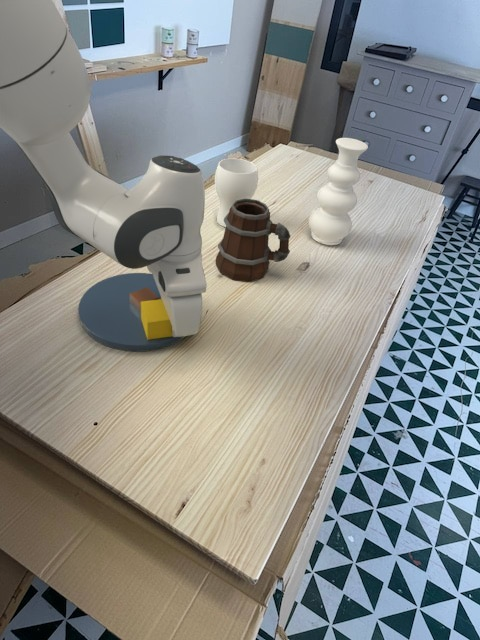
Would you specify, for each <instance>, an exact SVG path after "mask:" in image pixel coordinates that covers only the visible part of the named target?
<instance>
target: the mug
mask: <svg viewBox="0 0 480 640" xmlns="http://www.w3.org/2000/svg"><path fill="white" fill-rule="evenodd" d="M224 222H225V224H226V227H224V228H225V229H224V233H223V236H222V239H221V240H220V241H219V243H218V244H217V248H218V250H219V251H218V253H217V255H216V257H215V265H216V268H217V269H218V272H219V273H220V274H221V275H223V276H225V277H227V278H228V279H231V280H232V281H239V282H248V283H250V282H251V283H252V282H254V281H258V280H260V279H263V278H265V276H266V274H267V272H268V271H269V266H270V261H273V262H274V263H279V262H283V261H284V260H286V259H287V258H288V257H289V255H290V253H291V250H290V248H289V246H290V245H289V243H290V239H291V234H290V231H289V229H288V228H287V227H286V226H285V225H284V224H282V223H280V222H277V223H274V222H273V221H272V220H271V212H270V208H269V207H268V205H267V204H266V203H264V202H262V201H260V200H258V199H253V198H251V199H241V200H236V201H235V202H234V203H233V205H232V207H231V208H230V210H229V213H228V214H227V215H226V217H225V218H224ZM271 234H274V235H275V236H277V239H278V240H279V247H278V249H275V250H274V251H272V250H271V248H270V246H269V236H270V235H271Z"/></svg>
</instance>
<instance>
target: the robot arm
mask: <svg viewBox="0 0 480 640" xmlns="http://www.w3.org/2000/svg"><path fill="white" fill-rule="evenodd" d="M56 6H57V5H55V3H54V1H53V0H0V129H1V130H2V131H4V132H5V133H6V134H7V135H8V136H9V138H11V139H12V140H13V141H14V143H15V144H16V146H17V147H18V149H19V150H20V151H21V153H22V154H23V155H24V157H25V158H26V160H27V161H28V163H29V164H30V166H31V167H32V168H33V169H34V171H35V173H36V174H37V175H38V177H39V178H40V180H41V181H42V183H44V186H45V188H46V189H47V193H48V195H49V198H50V202H51V206H52V210H53V214H54V217H55V219H56V220H57V223H58V224H59V225H60V226H61V228H62V229H64V230H65V231H66V232H68V233H69V234H72V235H74V236H75V237H77V238H79V239H80V240H81V239H82V240H83V241H85V242H86V243H87V244H89V245H90V246H92V247H94V249H96V250H98V251H99V252H101V253H102V254H104V255H105V256H107V257H108V258H110V259H111V260H113V261H114V262H116V263H117V264H119V265H121V266H122V267H125V268H127V269H132V270H137V269H142V268H147V270H148V272H149V273H150V274H153V277H154V279H155V282H156V285H157V287H158V290H159V293H160V295H161V299H162V301H163V303H164V306H165V309H166V311H167V314H168V317H169V319H170V322H171V332H172V335H173V337H182V336H185V337H188V336H193V335H195V334H198V332H199V329H200V325H201V319H202V313H203V312H202V310H203V293H206V292H207V284H208V283H207V279H206V275H205V271H204V267H203V255H202V249H203V247H202V245H203V238H202V235H201V228H202V226H203V223H204V219H205V204H206V189H205V187H206V186H205V179H204V175H203V172H202V169H200V167H198V166H197V164H195V163H193V162H191V161H189V160H186V159H185V158H182V157H177V156H174V155H164V154H163V155H157V156H154V157H152V158H150V161H149V163H148V168H147V171H146V172H145V174H144V175H143V176H142V178H140V180H139V181H138V182H137V183H136V184H135V185H133V186H132V187H131V188H129V189H128V188H126V187H125V186H123V185H121V184H119V183H118V182H116V181H114V180H112V179H111V178H110V177H109V176H107V175H105V174H104V173H102V172H100V171H99V170H97V169H95V168H94V167H92V166H90V165H89V163H87V161H86V160H85V158H84V156H83V154H82V153H81V151H80V149H79V147H78V145H77V143H76V141H75V140H74V137H72V134H71V133H70V132H71V131H72V130H73V129H75V128H76V127H77V125H79V123H80V122H81V121H82V120H83V118H84V116H85V115H86V112H87V110H88V108H89V105H90V102H91V96H92V91H93V90H92V89H93V88H92V84H91V80H90V76H89V73H88V70H87V66H86V64H85V61H84V59H83V57H82V54H81V52H80V49H79V48H78V45H77V44H76V41H75V40H74V37H73V36H72V34H71V32H70V30H69V28H68V27H67V25H66V22H65V21H64V19H63V17H62V15H61V14H60V11H59V10H58V8H57V7H56Z"/></svg>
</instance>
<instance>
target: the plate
mask: <svg viewBox="0 0 480 640" xmlns="http://www.w3.org/2000/svg"><path fill="white" fill-rule="evenodd" d="M147 287H148V288H149V289H150V290H151V291H152V292H153V293H154V294H155V295H156V296H157V297H159V299H161V295H160V293H159V290H158V287H157V285H156V282H155V279H154V277H153V274H152V273H150V272H149V273H147V272H127V273H121V274H117V275H112V276H110V277H107V278H104V279H102V280H100V281H98V282H96V283H95V284H93V285H92V286H91V287H90V288H88V289H87V290H86V291H85V292H84V294H83V295H82V296H81V298H80V300H79V303H78V308H77V309H78V320H79V323H80V325H81V327H82V329H83V331H84V332H85V333H86V335H88V336H89V337H90V338H91V339H93V340H94V341H95V342H97V343H99V344H100V345H102V346H105V347H108V348H111V349H114V350H119V351H125V352H147V351H149V352H150V351H154V350H159V349H163V348H166V347H169V346H171V345H173V344H176V343H178V342H179V341H181V340H182V339H184V338H185V337H186V336H182V337H173V336H171V337H164V338H157V339H150V340H147V336H146V333H145V330H144V327H143V323H142V320H141V313H140V312H139V311H138V310H137V309H136V308H135V307H134V306H133V305H132V304H131V303H130V295H129V294H130V293H133V292H135V291H138V290H141V289H144V288H147Z"/></svg>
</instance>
